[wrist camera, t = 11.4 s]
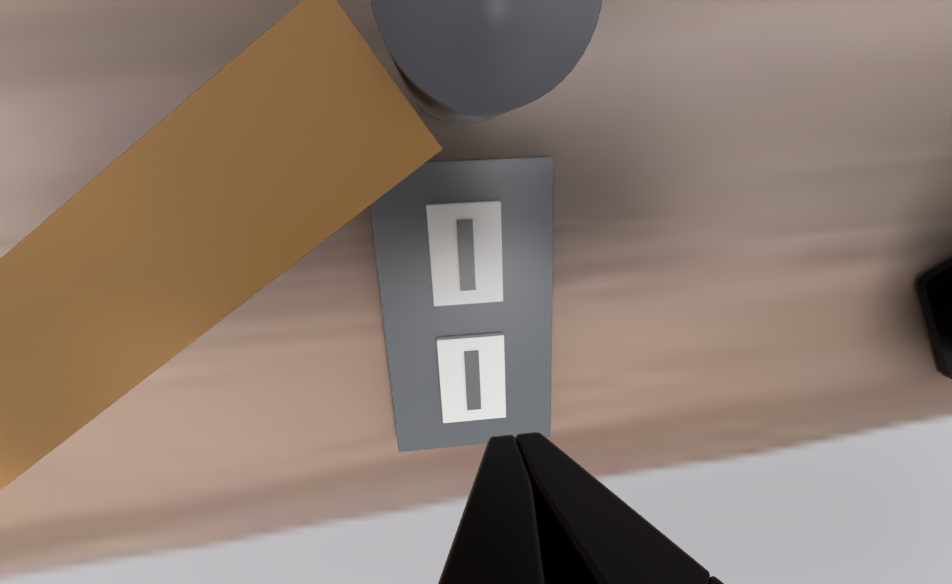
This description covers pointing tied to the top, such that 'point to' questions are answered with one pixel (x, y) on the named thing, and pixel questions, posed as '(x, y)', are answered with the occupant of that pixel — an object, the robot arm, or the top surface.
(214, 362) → the top surface
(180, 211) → the swing bar
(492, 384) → the label plate
